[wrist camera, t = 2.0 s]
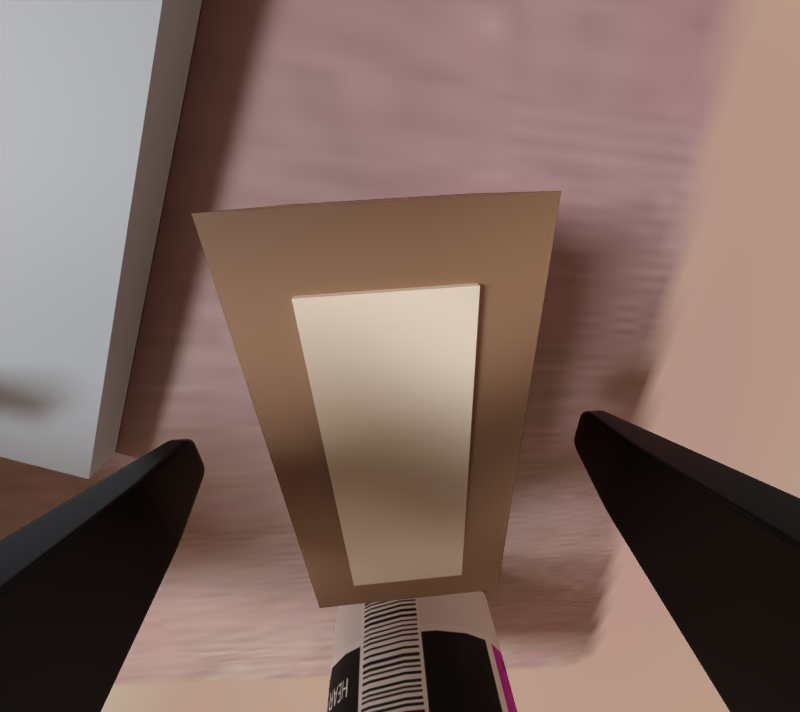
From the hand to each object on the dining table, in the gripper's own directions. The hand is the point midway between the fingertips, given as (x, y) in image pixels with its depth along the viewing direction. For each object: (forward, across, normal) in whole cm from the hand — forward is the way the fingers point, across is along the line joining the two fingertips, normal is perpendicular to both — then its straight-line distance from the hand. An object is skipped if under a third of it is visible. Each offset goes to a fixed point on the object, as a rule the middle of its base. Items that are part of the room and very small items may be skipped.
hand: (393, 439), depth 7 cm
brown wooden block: (+4, 0, 0) cm, 4 cm away
